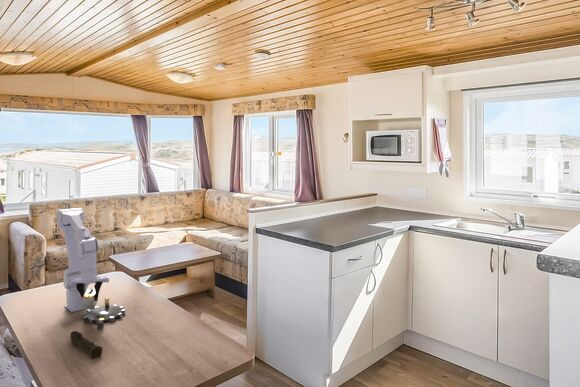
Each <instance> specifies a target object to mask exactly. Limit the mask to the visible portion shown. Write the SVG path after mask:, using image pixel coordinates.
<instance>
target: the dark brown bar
mask: <svg viewBox="0 0 580 387" xmlns="http://www.w3.org/2000/svg"><path fill="white" fill-rule="evenodd" d="M69 338H70V341H71V343H72V345H73V346H74V348H75V347H78V348H79V349H80V350H82V351H83V352H84V353H86V354H88V355H89V356H90V358H91V359H92V360H94V359H97V358H99V357H101V356H102V354H103V346H100V345H97V344H95V343H94V341H90V340H89V339H87V338H85V337H84V336H83V334H82V333H81V332H80V331H77V330H72V331H71V332H70V334H69Z"/></svg>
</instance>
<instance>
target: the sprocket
mask: <svg viewBox="0 0 580 387" xmlns="http://www.w3.org/2000/svg"><path fill="white" fill-rule="evenodd" d="M125 313H126V308H124V306H123V305H121V306H119V305H118V304H113V305H111V304H110V298H109V296H107V297H104V305H100V306H98V305H96V306H95V308H94V309H90V310H85V312H83V313H82V320H83V322H88V323H89V324H94V323H97V321H98V320H103V322H104V323H105V322H114V321H115V319H117V318H118V319H121V318H122V317H123V315H124V314H125Z"/></svg>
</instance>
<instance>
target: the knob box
mask: <svg viewBox="0 0 580 387" xmlns="http://www.w3.org/2000/svg"><path fill="white" fill-rule="evenodd" d="M82 300H83V309H82V311H86V310H90V309H94V308H95V307H96V306H97V304H98V301H99V299H98V300H97V301H95V288H90V289H87V291H86V293H85V294H84V295H83V298H82Z"/></svg>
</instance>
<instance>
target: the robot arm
mask: <svg viewBox="0 0 580 387" xmlns="http://www.w3.org/2000/svg"><path fill="white" fill-rule="evenodd" d="M84 218H85V213H84V210H83V208H82V207H78V208H77V207H76V208H65V209H59V208H58V210H57V211H56V221H57V227H58V229H59V230H61V231H62V232H63V235H64V240H65V248H66V253H67V260H68V266H69V267H68V268H66V270H64V271H63V279H62V280H63V287H64V289H65V290H66V292H65V293H66V294H65V296H66V304H65V305H64V308H66V309H67V310H69V311H70V312H72V313H75V312H78V311H83V300H82V298H83V295H84V294H85V293H86V291H87V290H88V288H89V286H90V284H94V286H93V288H94V289H95V301H97V300H98V301H99V294H100V291H101V287H102V285H103V283H106V284H108V283H110V276H98V271H97V268H98V266H97V263H98V262H97V252H98V250H99V243H98V239H97V238H96V237H94V236H92V234H91V232H90V231H89V229H88V227H84V223H83V221H84Z"/></svg>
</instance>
